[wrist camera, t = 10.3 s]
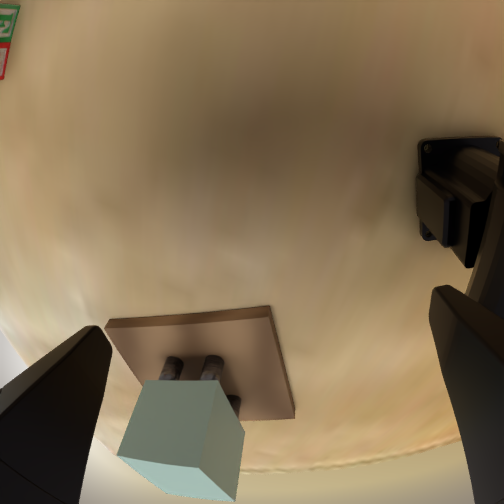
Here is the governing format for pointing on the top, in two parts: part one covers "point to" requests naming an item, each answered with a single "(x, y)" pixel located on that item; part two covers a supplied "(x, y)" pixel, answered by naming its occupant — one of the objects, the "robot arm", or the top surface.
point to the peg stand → (212, 356)
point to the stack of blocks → (6, 32)
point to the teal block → (185, 439)
